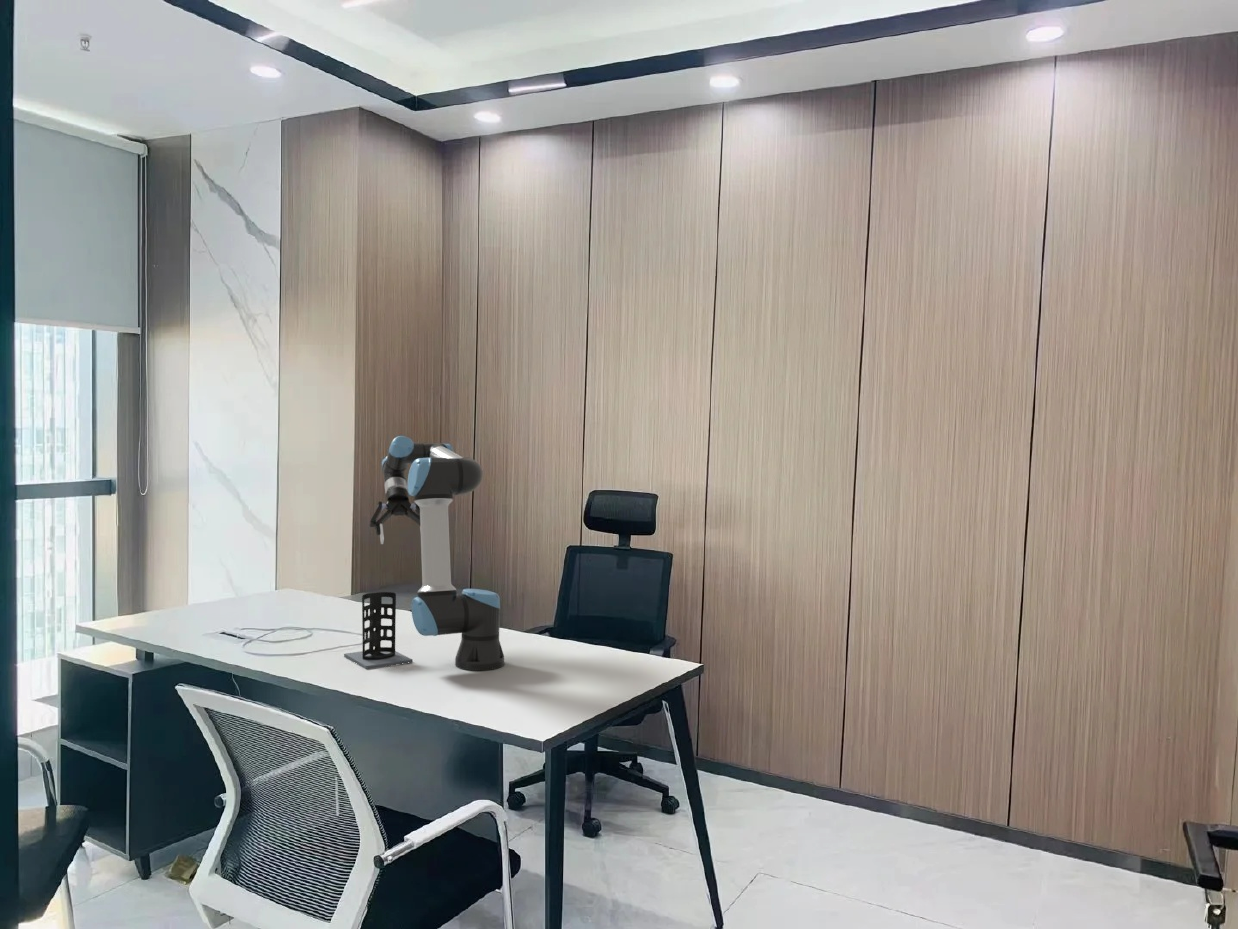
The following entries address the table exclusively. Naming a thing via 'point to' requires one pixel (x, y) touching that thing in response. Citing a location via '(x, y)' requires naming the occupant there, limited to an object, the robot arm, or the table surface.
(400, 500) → the robot arm
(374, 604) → the holder
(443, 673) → the table surface
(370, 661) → the mat
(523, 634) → the table surface
